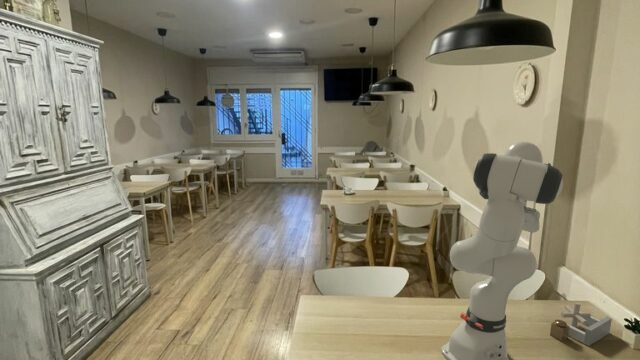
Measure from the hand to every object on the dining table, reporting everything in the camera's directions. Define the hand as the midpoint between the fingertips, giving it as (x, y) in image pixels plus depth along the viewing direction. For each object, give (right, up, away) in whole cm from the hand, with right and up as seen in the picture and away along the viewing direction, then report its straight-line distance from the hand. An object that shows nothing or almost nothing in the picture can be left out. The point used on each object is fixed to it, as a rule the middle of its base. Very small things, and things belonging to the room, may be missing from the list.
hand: (510, 236), depth 141 cm
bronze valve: (+9, -35, -15) cm, 39 cm away
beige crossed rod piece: (+19, -33, -9) cm, 40 cm away
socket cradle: (+20, -34, -11) cm, 41 cm away
